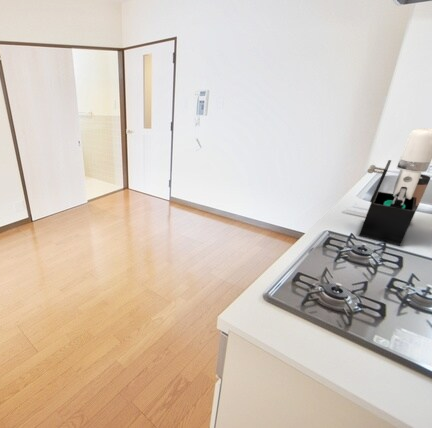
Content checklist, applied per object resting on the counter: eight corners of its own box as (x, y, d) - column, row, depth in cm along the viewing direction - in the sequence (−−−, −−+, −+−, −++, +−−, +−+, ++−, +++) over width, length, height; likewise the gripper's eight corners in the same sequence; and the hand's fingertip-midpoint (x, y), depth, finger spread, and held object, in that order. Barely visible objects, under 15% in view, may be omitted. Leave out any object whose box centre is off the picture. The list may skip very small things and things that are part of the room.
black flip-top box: (402, 229, 111) (416, 197, 105) (399, 246, 101) (415, 211, 95) (364, 221, 119) (376, 191, 113) (358, 235, 108) (370, 203, 103)
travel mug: (410, 227, 112) (431, 180, 104) (384, 222, 117) (403, 176, 109) (409, 220, 117) (430, 175, 109) (385, 215, 122) (403, 172, 114)
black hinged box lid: (391, 160, 107) (373, 157, 110) (387, 170, 97) (368, 167, 100) (377, 190, 113) (361, 187, 116) (372, 202, 102) (354, 198, 106)
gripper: (428, 173, 90) (406, 222, 97) (428, 161, 101) (408, 207, 108) (396, 169, 95) (377, 216, 102) (399, 159, 105) (382, 202, 113)
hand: (393, 211), depth 105 cm, fingers closed on candle, 6 cm apart
